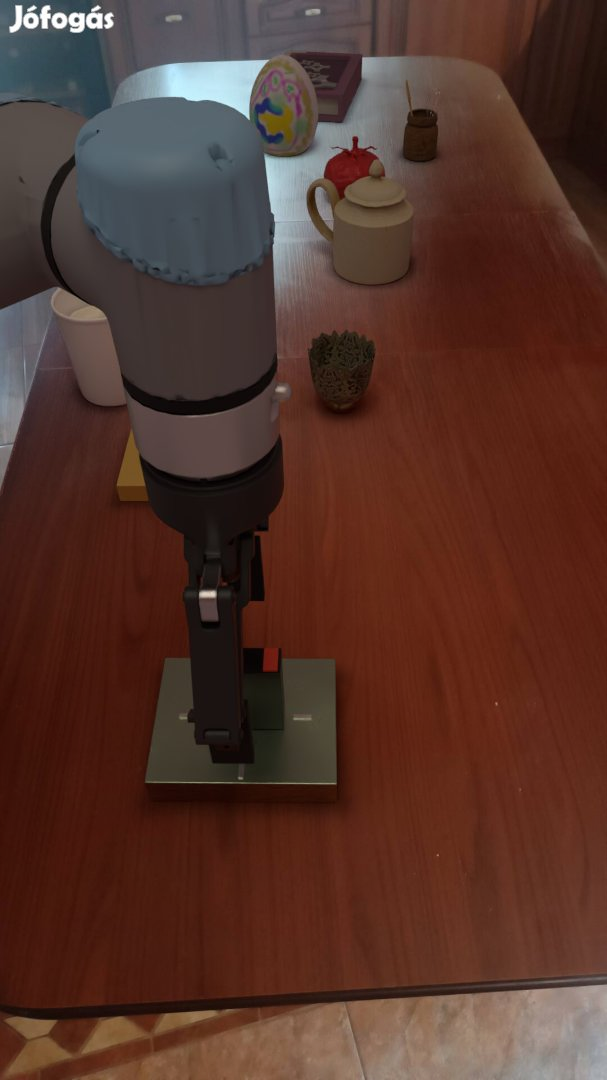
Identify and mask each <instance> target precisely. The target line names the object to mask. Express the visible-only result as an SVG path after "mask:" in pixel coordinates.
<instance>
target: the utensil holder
mask: <svg viewBox="0 0 607 1080" xmlns="http://www.w3.org/2000/svg"><path fill="white" fill-rule="evenodd" d="M405 88H406V89H405V90H406V96H407V102H408V107H409V111H408V113H407V117H406V121H407V123H406V124H405V126H404V131H403V141H402V154H403V156H404V158H405V159H407V160H410V161H413V162H426V161H427V162H428V161H430V160H432V159H434V158H435V156H436V154H437V148H438V139H439V126H438V124H437V122H438V110H439V109H440V106H441V104H442V102H440V101H442V100H443V98H441V97H439V98H438V102H437V105H436V108H435V110H433V107H434V103H435V99H436V97H437V94H438V91H439V96H442V94H443V92H442V91H441V90H440V89H439V88H432V91H430V92H429V93H428V96H427V100H426V101H428V102H425V103H426V105H425V106H426V107H428V106H429V105H430V104H429V103H430V101H431V98H430V97H432V96H433V93H434V92H435V96H434V99H433V102H432V106H431V109H430V108H414V109H413V107H412V100H411V99H412V98H411V92H410V86H409V82H408V79H406V80H405ZM440 99H441V100H440ZM439 103H440V104H439Z"/></svg>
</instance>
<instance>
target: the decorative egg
mask: <svg viewBox="0 0 607 1080" xmlns="http://www.w3.org/2000/svg"><path fill="white" fill-rule="evenodd" d="M250 92H251V93H250V95H249V98H250V99H249V106H248V114H249V118H248V119H249V120H250V121H251V123H252V124H253V125H254V126H255V128H256V129H257V131H258V133H259V135H260V137H261V140H262V143H263V148H264V153H266V154H268V155H271V156H274V157H275V156H276V157H293V156H297V155H300V154H302V153H304V152H306V150H307V149H308V148H309V147H310V146H311V144H312V142H313V140H314V138H315V136H316V132H317V130H318V124H319V121H318V103H317V98H316V93H315V90H314V87H313V84H312V82H311V80H310V78H309V76H308V74H307V72H306V71H305V69H304V68H303V67H302V66H301V65H300V64H299V62H297V61H296V60H295V59H294V58H292V57H290V56H287V55H284V54H277V55H275V56H272V57H271V58H270V59H268V61H267V62H265V64H264V65H263V66H262V68H261V69H260V71H259V72H258V74H257V76H256V78H255V80H254V82H253V85H252V88H251V91H250Z"/></svg>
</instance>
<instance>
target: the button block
mask: <svg viewBox="0 0 607 1080" xmlns="http://www.w3.org/2000/svg"><path fill="white" fill-rule="evenodd" d="M130 427H131V426H130ZM123 455H124V456H123V459H122V462H121V467H120V470H119V474H118V476H117V477H118V478H117V483H116V486H115V487H116V491H117V494H118V499H119V501H120V502H149V500H148V496H147V491H146V487H145V482H144V477H143V473H142V468H141V464H140V459H139V451H138V450H137V448H136V446H135V441H134V436H133V432H132V427H131V428H130V432H129V435H128V440H127V443H126V447H125V450H124V454H123Z"/></svg>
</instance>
